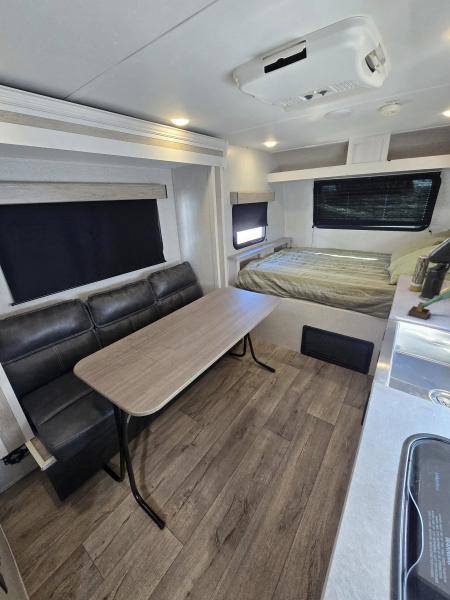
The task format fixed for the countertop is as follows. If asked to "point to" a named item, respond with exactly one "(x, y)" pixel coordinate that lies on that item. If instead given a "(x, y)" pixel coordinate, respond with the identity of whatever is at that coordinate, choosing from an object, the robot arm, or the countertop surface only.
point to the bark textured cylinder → (419, 273)
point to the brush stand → (419, 311)
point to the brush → (443, 294)
